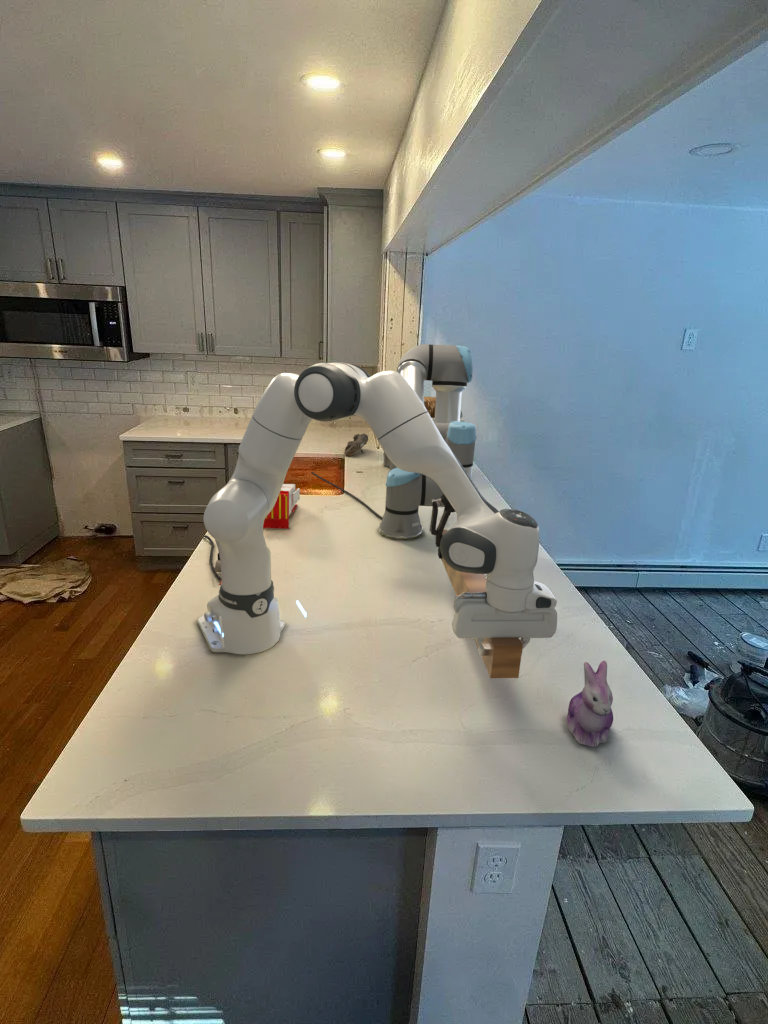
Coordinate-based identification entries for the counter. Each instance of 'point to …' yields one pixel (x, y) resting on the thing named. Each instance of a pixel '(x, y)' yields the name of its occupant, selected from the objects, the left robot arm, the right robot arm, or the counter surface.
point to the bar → (500, 650)
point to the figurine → (591, 708)
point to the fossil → (356, 444)
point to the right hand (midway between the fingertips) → (450, 556)
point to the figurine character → (218, 565)
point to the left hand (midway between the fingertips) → (500, 654)
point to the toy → (283, 507)
